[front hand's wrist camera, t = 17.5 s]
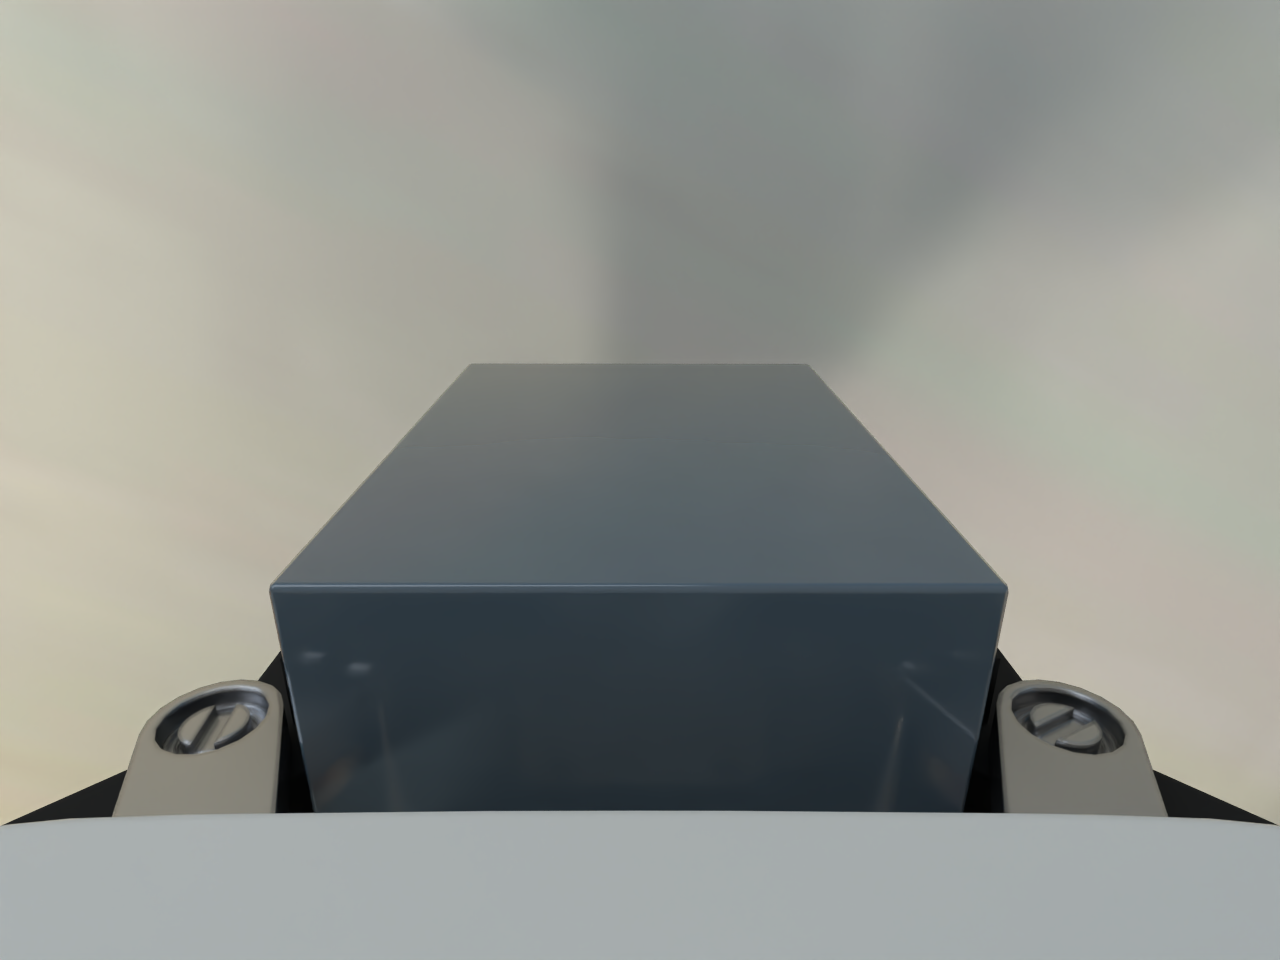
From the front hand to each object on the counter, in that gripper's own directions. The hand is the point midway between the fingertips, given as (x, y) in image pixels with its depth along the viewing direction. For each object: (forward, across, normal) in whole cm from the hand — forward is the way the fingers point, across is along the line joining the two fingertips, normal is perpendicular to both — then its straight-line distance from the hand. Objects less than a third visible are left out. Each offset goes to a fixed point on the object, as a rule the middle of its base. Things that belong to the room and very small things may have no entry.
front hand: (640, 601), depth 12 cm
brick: (+3, 0, 0) cm, 3 cm away
